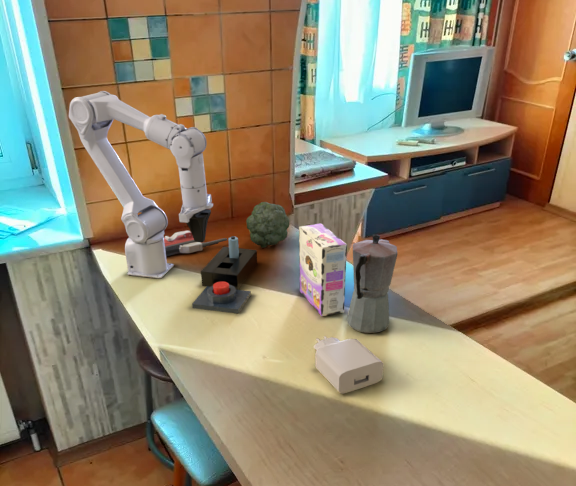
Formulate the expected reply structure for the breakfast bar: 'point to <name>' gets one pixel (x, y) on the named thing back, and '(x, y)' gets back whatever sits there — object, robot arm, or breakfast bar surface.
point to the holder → (229, 268)
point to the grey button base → (222, 300)
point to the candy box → (322, 268)
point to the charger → (347, 364)
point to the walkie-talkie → (185, 243)
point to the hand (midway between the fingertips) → (199, 241)
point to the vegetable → (267, 224)
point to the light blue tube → (233, 247)
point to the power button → (221, 288)
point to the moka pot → (371, 284)
